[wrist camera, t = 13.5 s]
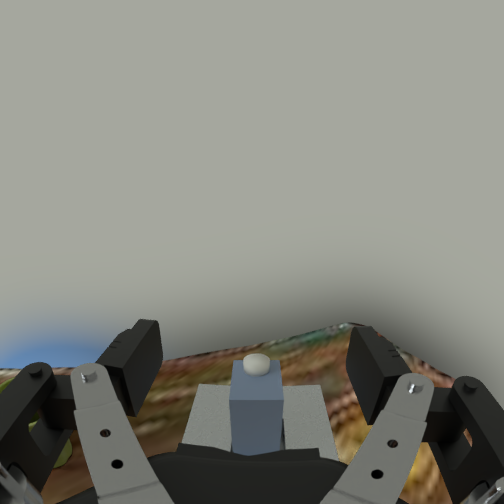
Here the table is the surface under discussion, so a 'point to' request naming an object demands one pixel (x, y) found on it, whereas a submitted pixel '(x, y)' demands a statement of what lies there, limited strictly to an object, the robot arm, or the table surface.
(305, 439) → the plate
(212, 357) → the table surface
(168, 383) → the table surface
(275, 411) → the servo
